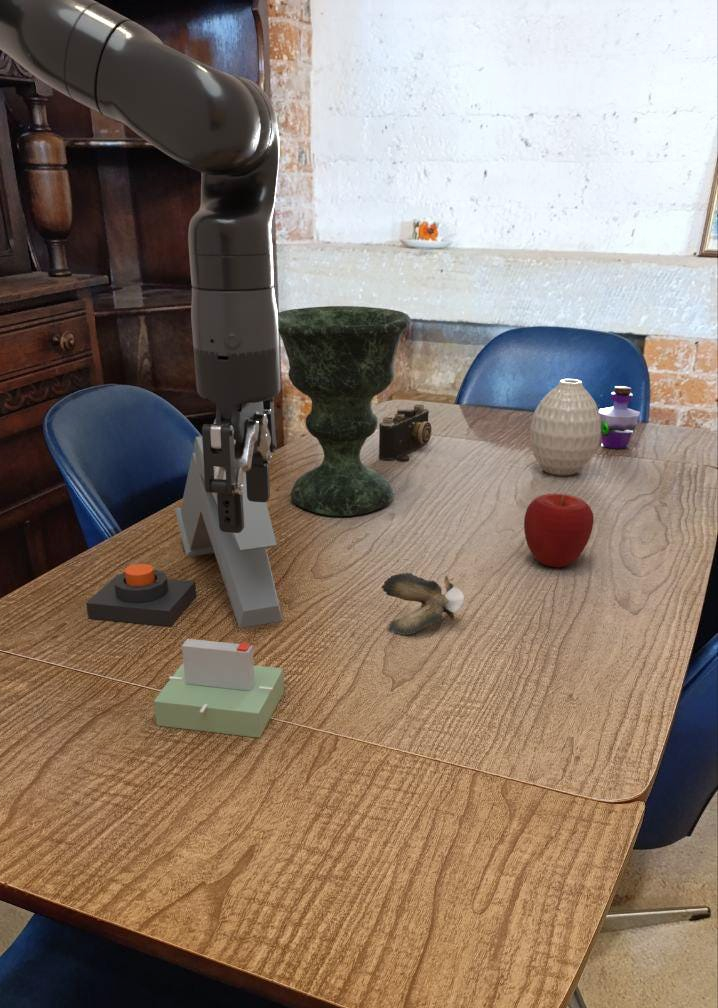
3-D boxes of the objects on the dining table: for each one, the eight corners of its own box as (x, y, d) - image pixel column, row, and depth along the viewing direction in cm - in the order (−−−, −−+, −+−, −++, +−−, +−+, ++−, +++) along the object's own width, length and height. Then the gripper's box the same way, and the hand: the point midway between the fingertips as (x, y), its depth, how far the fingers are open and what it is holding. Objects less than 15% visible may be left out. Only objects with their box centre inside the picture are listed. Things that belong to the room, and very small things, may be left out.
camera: (403, 464, 169) (404, 422, 165) (373, 458, 172) (374, 418, 168) (442, 444, 181) (444, 405, 178) (414, 439, 185) (415, 401, 181)
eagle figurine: (433, 593, 115) (372, 593, 111) (458, 560, 109) (395, 560, 105) (451, 642, 111) (389, 644, 107) (478, 612, 106) (413, 613, 102)
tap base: (151, 731, 88) (147, 705, 87) (191, 676, 98) (188, 651, 96) (257, 744, 86) (255, 717, 85) (288, 687, 96) (286, 662, 95)
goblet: (258, 514, 144) (248, 322, 130) (302, 473, 163) (298, 303, 149) (388, 527, 139) (392, 329, 125) (418, 484, 158) (424, 308, 144)
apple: (589, 578, 122) (598, 509, 117) (519, 572, 124) (526, 505, 119) (586, 552, 130) (594, 487, 126) (521, 547, 132) (527, 483, 127)
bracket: (215, 675, 123) (237, 601, 100) (174, 508, 131) (186, 406, 108) (271, 664, 125) (305, 590, 103) (227, 502, 133) (250, 400, 111)
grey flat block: (185, 683, 91) (181, 643, 88) (191, 676, 92) (187, 636, 90) (250, 691, 89) (247, 650, 87) (255, 683, 91) (252, 643, 89)
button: (121, 586, 110) (119, 573, 110) (133, 575, 114) (131, 562, 113) (148, 588, 110) (146, 576, 109) (159, 577, 113) (158, 564, 112)
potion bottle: (585, 446, 181) (593, 387, 175) (605, 437, 186) (612, 380, 181) (624, 454, 176) (633, 393, 170) (643, 445, 181) (652, 386, 176)
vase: (602, 466, 168) (615, 378, 160) (585, 485, 158) (597, 391, 150) (537, 457, 173) (546, 371, 165) (517, 475, 163) (525, 383, 155)
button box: (88, 618, 110) (83, 589, 109) (119, 589, 118) (115, 561, 116) (170, 626, 109) (167, 597, 107) (196, 596, 116) (194, 568, 114)
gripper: (221, 327, 84) (232, 489, 92) (165, 354, 72) (182, 539, 79) (297, 330, 83) (301, 494, 90) (253, 358, 70) (262, 545, 78)
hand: (245, 515), depth 85 cm, fingers open, 8 cm apart
